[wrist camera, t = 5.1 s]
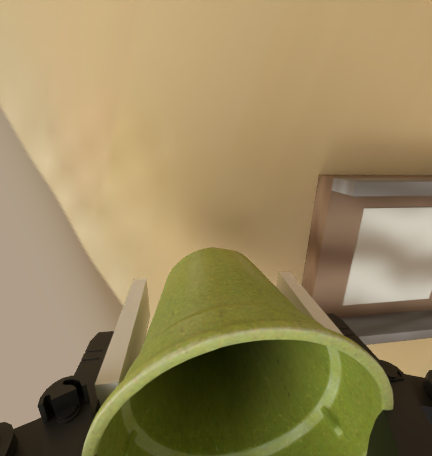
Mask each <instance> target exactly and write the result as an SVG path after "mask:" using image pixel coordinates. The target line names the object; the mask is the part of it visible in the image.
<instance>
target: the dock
mask: <svg viewBox="0 0 432 456" xmlns="http://www.w3.org/2000/svg"><path fill="white" fill-rule="evenodd" d="M302 286H303V288H304V289H305V290H306V291H307V292H308V294H309V295H310V296H311V297H312V298H313V300H314V301H315V302H316V303H317V304H318V305H319V307H320V308H321V309H322V310H323V311H324V313H325V314H332V313H333V314H334V315H336V316H337V317H339V318H340V319H342V320H343V321H344V322H345V323H346V324H347V325H348V326H349V328H350V329H351V330H352V331H353V332H354V333H355V335H357V336H358V337H359V338H360V340H361V341H362V342H363V343H364V344H365V345H369V344H378V343H387V342H397V341H406V340H415V339H425V338H432V176H405V175H319V179H318V186H317V192H316V199H315V205H314V211H313V218H312V224H311V231H310V237H309V244H308V250H307V256H306V263H305V269H304V276H303V282H302Z"/></svg>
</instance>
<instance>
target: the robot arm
mask: <svg viewBox="0 0 432 456" xmlns="http://www.w3.org/2000/svg"><path fill="white" fill-rule="evenodd" d="M277 289H278V290H279V291H280V292H281V293H282V294H283V295H284V296H285V297H286V298H287V299H288V300H289V301H290V302H291V303H292V304H293V305H294V306H295V307H296V308H297V309H298V310H299V311H301V312H302V313H303V314H305V315H307V316H309V317H311V318H312V319H314V320H316V321H317V322H319V323H320V324H321V325H322V326H323V327H325V328H327V329H330V330H332V331H335V332H337V333H340V334H342V335H344V336H346V337H347V338H349V339H351V340H353V341H354V342H356V343H357V344H358V345H360V346H361V347H362V348H363V349H364V350H366V351H367V352H368V353H369V354H370V355H371V356H372V357H373V358H374V359H375V360H376V361H377V362H378V363H379V364H380V366H381V367H382V368H383V370H384V372H385V373H386V375H387V377H388V379H389V382H390V385H391V387H392V391H393V401H394V403H393V409H392V410H383V411H382V412H381V413H380V414H379V415H378V417H377V418H376V420H375V423H374V426H373V428H372V431H371V434H370V438H369V443H368V449H367V454H366V456H432V370H429V372H428V373H427V374H426V377H425V378H422V377H417V376H411V375H406V374H404V373H403V372H402V371H401V370H399V369H398V368H397V367H396V366H394V365H392V364H391V363H389V362H386V361H383V360H379V359H378V358H377V357H376V356H375V355H374V354H373V353H372V352H371V351H370V349H369V348H368V347H367V346H366V345H365V344H364V343H363V342H362V341H361V340H360V338H359V337H358V336H357V335H355V333H354V332H353V331H352V330H351V329H350V328H349V326H348V325H347V324H346V323H345V322H344V321H343V320H342V319H340V318H339V317H337V316H336V315H334V314H333V313H332V314H325V313H324V311H323V310H322V309H321V308H320V307H319V305H318V304H317V303H316V302H315V301H314V300H313V298H312V297H311V296H310V295H309V294H308V292H307V291H306V290H305V289H304V288H303V286H302V285H301V284H300V283H299V282H298V281H297V279H296V278H295V277H294V276H293V275H292V273H291V272H290V271H285V272H278V280H277ZM149 318H150V311H149V300H148V288H147V279H133V282H132V285H131V287H130V290H129V293H128V296H127V298H126V301H125V304H124V306H123V309H122V312H121V315H120V317H119V320H118V323H117V325H116V328H115V331H110V332H99V333H98V334H97V335H96V336H95V337H94V338H93V339H92V340H91V341H90V343H89V345H88V347H87V349H86V351H85V354H84V355H83V358H82V360H81V362H80V364H79V366H78V368H77V370H76V372H75V374H74V376H69V377H65V378H62V379H60V380H58V381H57V382H55V383H54V384H52V385H51V386H50V387H49V388H48V389H46V391H45V392H44V393H43V395H42V396H41V397H40V400H39V403H38V408H39V411H40V414H41V418H39V419H37V420H35V421H32V422H30V423H27V424H25V425H22V426H20V427H18V428H15V429H13V427H12V425H11V424H8V423H6V422H2V423H0V456H82V451H83V447H84V442H85V439H86V437H87V434H88V431H89V429H90V426H91V424H92V422H93V420H94V418H95V416H96V414H97V412H98V411H99V409H100V408H101V406H102V405H103V403H104V402H105V400H106V399H107V398H108V396H109V395H110V394H111V393H112V392H113V390H114V389H115V388H116V387H117V386H118V385H119V384H120V383H121V382H122V381H123V380H124V378H125V376H126V374H127V372H128V370H129V368H130V367H131V365H132V364H133V362H134V361H135V359H136V358H137V357H138V355H139V354H140V352H141V349H142V346H143V344H144V341H145V338H146V333H147V328H148V323H149ZM94 456H97V455H94Z"/></svg>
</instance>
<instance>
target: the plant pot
mask: <svg viewBox="0 0 432 456" xmlns="http://www.w3.org/2000/svg"><path fill="white" fill-rule="evenodd" d="M393 403H394V401H393V391H392V387H391V385H390V382H389V379H388V377H387V375H386V373H385V372H384V370H383V368H382V367H381V366H380V364H379V363H378V362H377V361H376V360H375V359H374V358H373V357H372V356H371V355H370V354H369V353H368V352H367V351H366V350H364V349H363V348H362V347H361V346H360V345H358V344H357V343H356V342H354V341H353V340H351V339H349V338H347V337H346V336H344V335H342V334H340V333H337V332H335V331H332V330H330V329H327V328H325V327H323V326H322V325H321V324H320V323H319V322H317V321H316V320H314V319H312V318H311V317H309V316H307V315H305V314H303V313H302V312H301V311H299V310H298V309H297V308H296V307H295V306H294V305H293V304H292V303H291V302H290V301H289V300H288V299H287V298H286V297H285V296H284V295H283V294H282V293H281V292H280V291H279V290H278V289H277V288H276V287H275V286H274V285H273V284H272V283H271V282H270V281H269V280H268V279H267V278H266V277H265V275H264V274H263V273H262V272H261V271H260V270H259V269H258V268H257V267H256V266H255V265H254V264H253V263H252V262H251V261H250V260H249V259H248V258H247V257H245V256H244V255H243V254H241V253H239V252H236V251H232V250H226V249H219V248H206V249H202V250H198V251H196V252H193V253H191V254H190V255H188V256H186V257H185V258H183V259H182V260H181V261H180V262H178V263H177V264H176V266H175V267H174V268H173V269H172V270H171V272H170V274H169V276H168V278H167V280H166V283H165V286H164V289H163V292H162V295H161V298H160V300H159V303H158V306H157V309H156V311H155V314H154V317H153V319H152V322H151V325H150V327H149V330H148V333H147V336H146V338H145V341H144V344H143V346H142V349H141V352H140V354H139V355H138V357H137V358H136V359H135V361H134V362H133V364H132V365H131V367H130V368H129V370H128V372H127V374H126V376H125V378H124V380H123V381H122V382H121V383H120V384H119V385H118V386H117V387H116V388H115V389H114V390H113V392H112V393H111V394H110V395H109V396H108V398H107V399H106V400H105V402H104V403H103V405H102V406H101V408H100V409H99V411H98V412H97V414H96V416H95V418H94V420H93V422H92V424H91V426H90V429H89V431H88V434H87V437H86V439H85V442H84V447H83V451H82V456H94V455H97V456H366V454H367V449H368V443H369V438H370V434H371V431H372V428H373V426H374V423H375V420H376V418H377V417H378V415H379V414H380V413H381V412H382V411H383V410H392V409H393Z"/></svg>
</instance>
